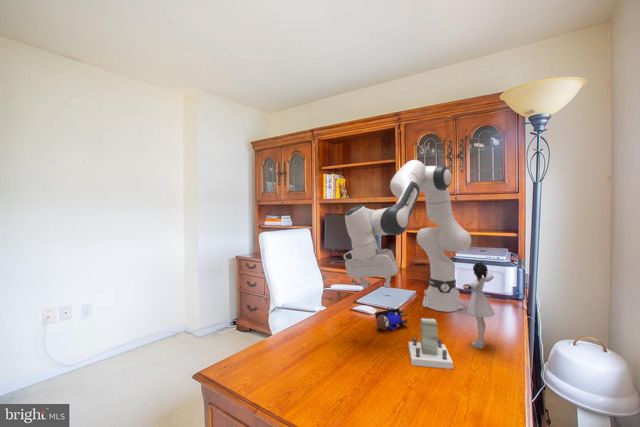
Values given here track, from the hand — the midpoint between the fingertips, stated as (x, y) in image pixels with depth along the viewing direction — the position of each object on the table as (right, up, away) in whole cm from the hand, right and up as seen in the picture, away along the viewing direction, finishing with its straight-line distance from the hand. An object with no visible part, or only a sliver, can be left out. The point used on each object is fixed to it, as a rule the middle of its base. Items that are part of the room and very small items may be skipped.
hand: (376, 287), depth 108 cm
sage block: (+15, -19, -10) cm, 26 cm away
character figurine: (+9, -20, +14) cm, 26 cm away
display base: (+15, -21, -10) cm, 28 cm away
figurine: (+36, -21, -3) cm, 42 cm away
